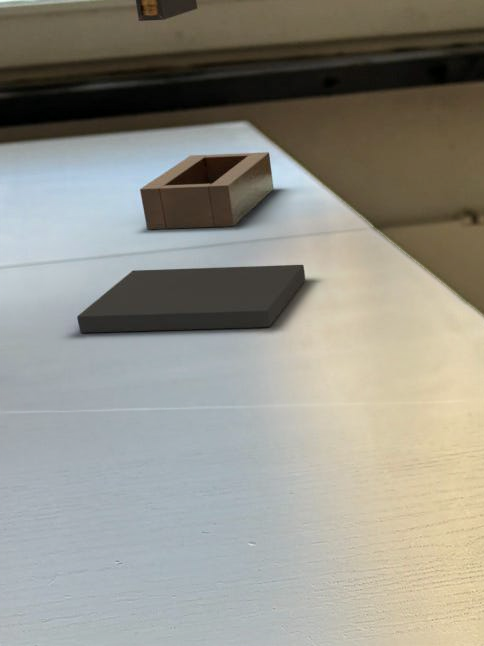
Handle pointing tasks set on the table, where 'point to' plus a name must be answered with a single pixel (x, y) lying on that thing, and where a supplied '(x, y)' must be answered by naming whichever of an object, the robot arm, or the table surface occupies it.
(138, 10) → the stripper clip of bullets
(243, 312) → the rubber mat
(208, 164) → the bullet clip holder
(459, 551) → the table surface
